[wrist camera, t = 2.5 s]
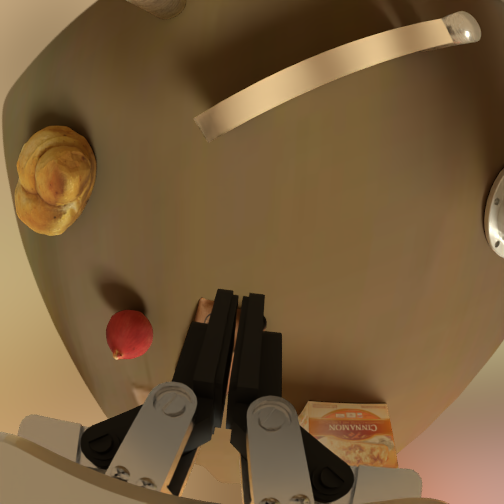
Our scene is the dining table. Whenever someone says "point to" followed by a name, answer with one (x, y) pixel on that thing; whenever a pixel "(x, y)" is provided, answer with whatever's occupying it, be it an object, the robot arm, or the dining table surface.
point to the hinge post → (460, 29)
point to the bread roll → (54, 179)
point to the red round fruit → (129, 334)
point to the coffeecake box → (352, 431)
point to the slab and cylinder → (161, 7)
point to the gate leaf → (319, 74)
